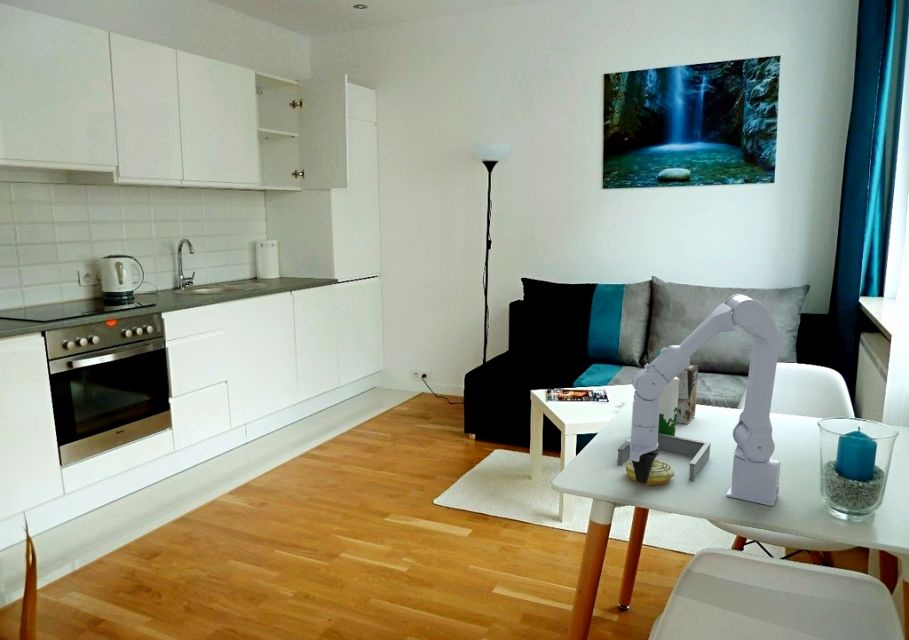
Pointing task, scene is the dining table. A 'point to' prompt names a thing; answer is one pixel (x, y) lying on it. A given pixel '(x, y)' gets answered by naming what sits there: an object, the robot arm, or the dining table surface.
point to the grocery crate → (677, 451)
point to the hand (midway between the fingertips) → (641, 481)
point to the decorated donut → (654, 472)
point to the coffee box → (687, 394)
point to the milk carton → (668, 408)
